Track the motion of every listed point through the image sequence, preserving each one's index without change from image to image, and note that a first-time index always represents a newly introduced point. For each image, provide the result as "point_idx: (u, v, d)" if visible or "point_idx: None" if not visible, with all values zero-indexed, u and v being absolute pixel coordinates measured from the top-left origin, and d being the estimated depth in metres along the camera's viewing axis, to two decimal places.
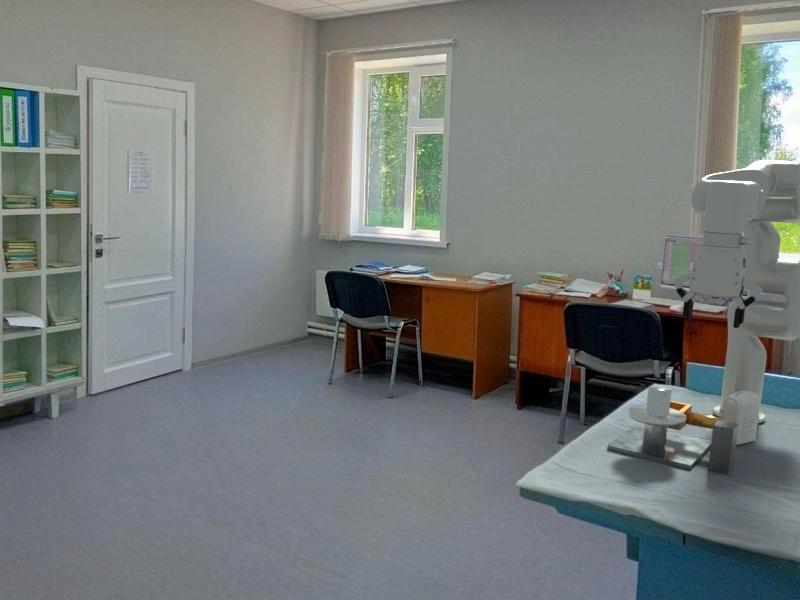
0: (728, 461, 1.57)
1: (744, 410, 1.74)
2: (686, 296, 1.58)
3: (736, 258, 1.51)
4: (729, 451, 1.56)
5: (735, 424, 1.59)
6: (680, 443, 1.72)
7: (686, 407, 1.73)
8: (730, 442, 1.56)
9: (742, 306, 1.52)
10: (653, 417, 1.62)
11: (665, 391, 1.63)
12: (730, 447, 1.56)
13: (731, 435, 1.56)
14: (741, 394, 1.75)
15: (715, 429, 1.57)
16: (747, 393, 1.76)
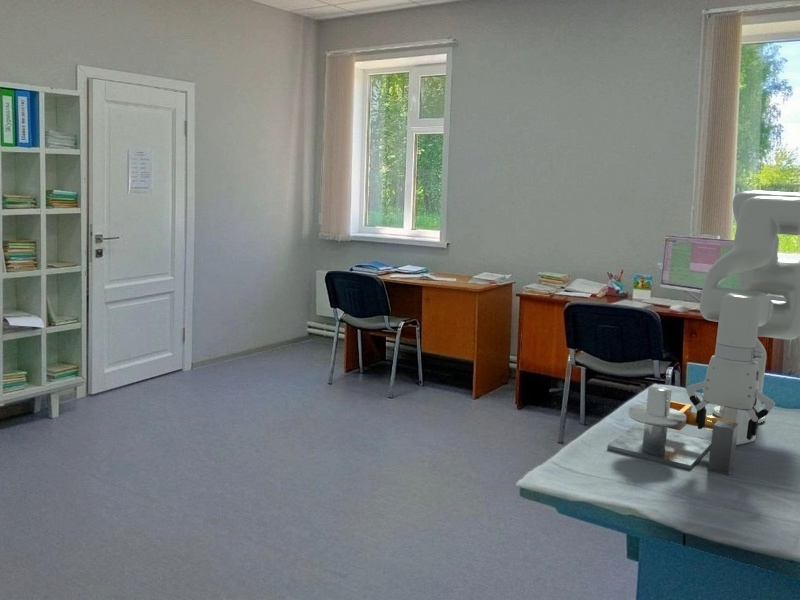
0: (728, 461, 1.57)
1: (744, 410, 1.74)
2: (699, 405, 1.59)
3: (749, 372, 1.52)
4: (729, 451, 1.56)
5: (735, 423, 1.59)
6: (680, 443, 1.72)
7: (686, 407, 1.73)
8: (730, 442, 1.56)
9: (755, 419, 1.53)
10: (653, 417, 1.62)
11: (665, 391, 1.63)
12: (730, 447, 1.56)
13: (731, 435, 1.56)
14: None
15: (715, 429, 1.57)
16: None
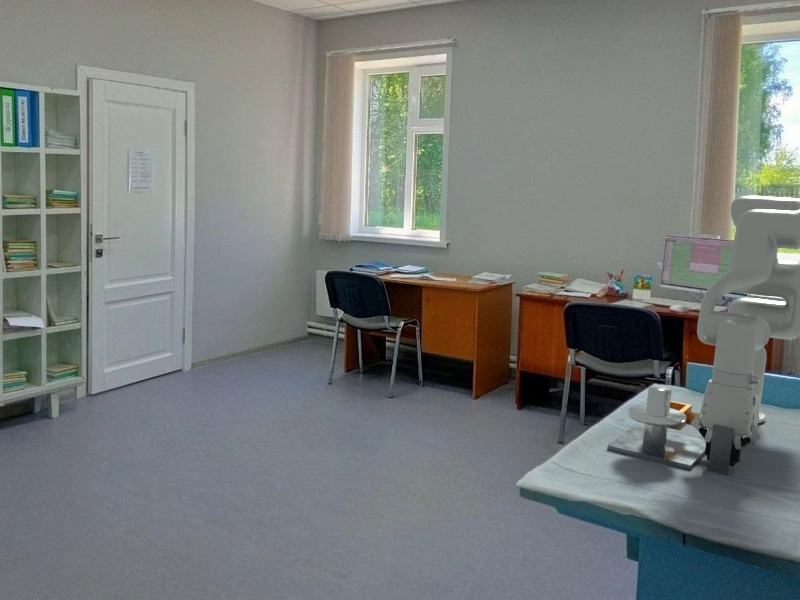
0: (728, 461, 1.56)
1: None
2: (708, 437, 1.59)
3: (746, 397, 1.54)
4: (729, 451, 1.56)
5: None
6: (680, 443, 1.72)
7: (686, 407, 1.73)
8: (730, 442, 1.56)
9: (738, 446, 1.56)
10: (653, 417, 1.62)
11: (665, 391, 1.63)
12: (730, 447, 1.56)
13: (731, 435, 1.56)
14: None
15: (715, 429, 1.57)
16: None
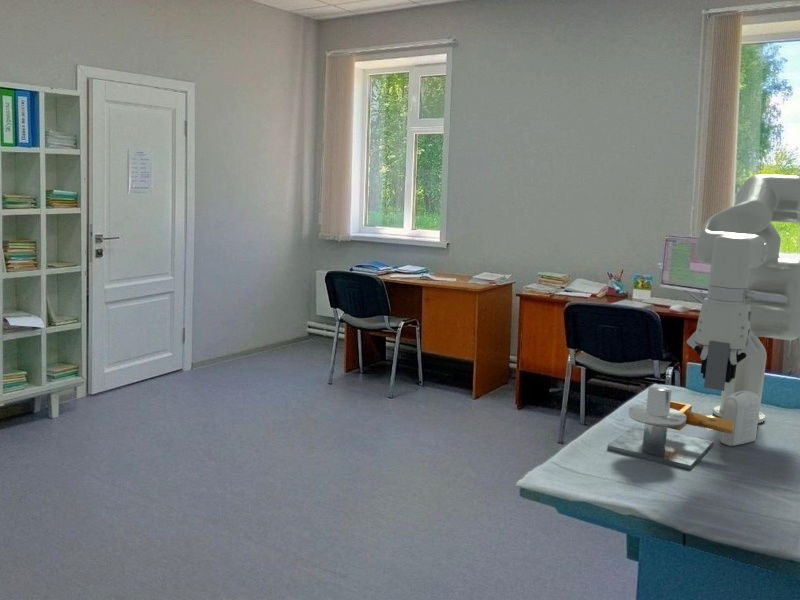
0: (724, 377, 1.57)
1: (744, 410, 1.74)
2: (704, 354, 1.60)
3: (742, 312, 1.54)
4: (725, 366, 1.57)
5: None
6: (680, 443, 1.72)
7: (686, 407, 1.73)
8: (726, 357, 1.57)
9: (734, 362, 1.57)
10: (653, 417, 1.62)
11: (665, 391, 1.63)
12: (726, 362, 1.57)
13: (727, 350, 1.56)
14: (741, 394, 1.75)
15: (711, 345, 1.58)
16: (747, 393, 1.76)
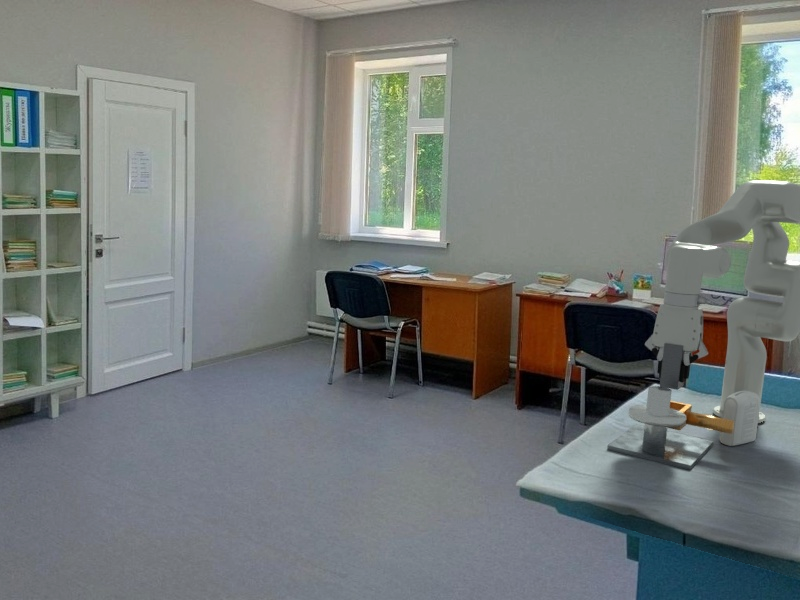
0: (677, 376, 1.69)
1: (744, 410, 1.74)
2: (660, 355, 1.72)
3: (694, 316, 1.66)
4: (678, 367, 1.69)
5: None
6: (680, 443, 1.72)
7: (686, 407, 1.73)
8: (679, 358, 1.69)
9: (687, 363, 1.69)
10: (653, 417, 1.62)
11: (665, 391, 1.63)
12: (679, 363, 1.69)
13: (680, 352, 1.68)
14: (741, 394, 1.75)
15: (666, 347, 1.70)
16: (747, 393, 1.76)
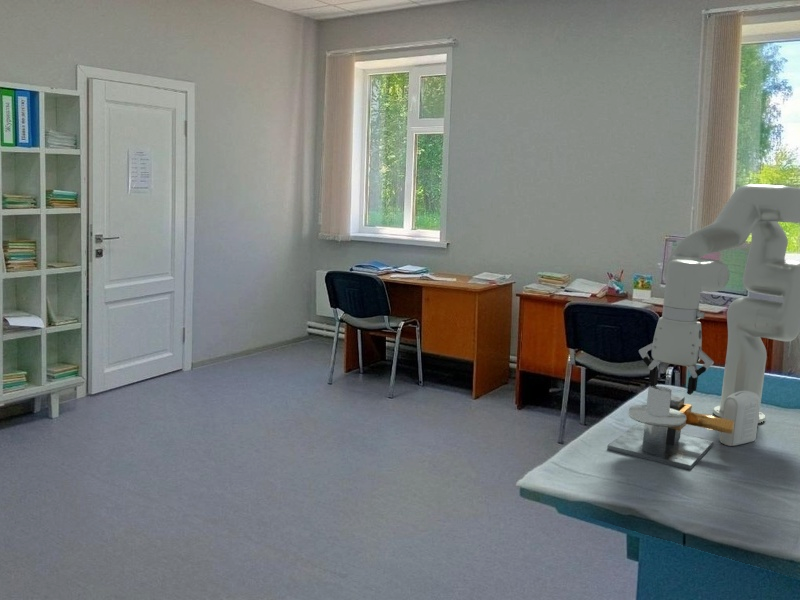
0: (674, 431, 1.71)
1: (744, 410, 1.74)
2: (651, 365, 1.74)
3: (692, 331, 1.67)
4: None
5: (682, 397, 1.74)
6: (680, 443, 1.72)
7: (686, 407, 1.73)
8: None
9: (695, 375, 1.69)
10: (653, 417, 1.62)
11: (665, 391, 1.63)
12: None
13: (677, 407, 1.71)
14: (741, 394, 1.75)
15: None
16: (747, 393, 1.76)
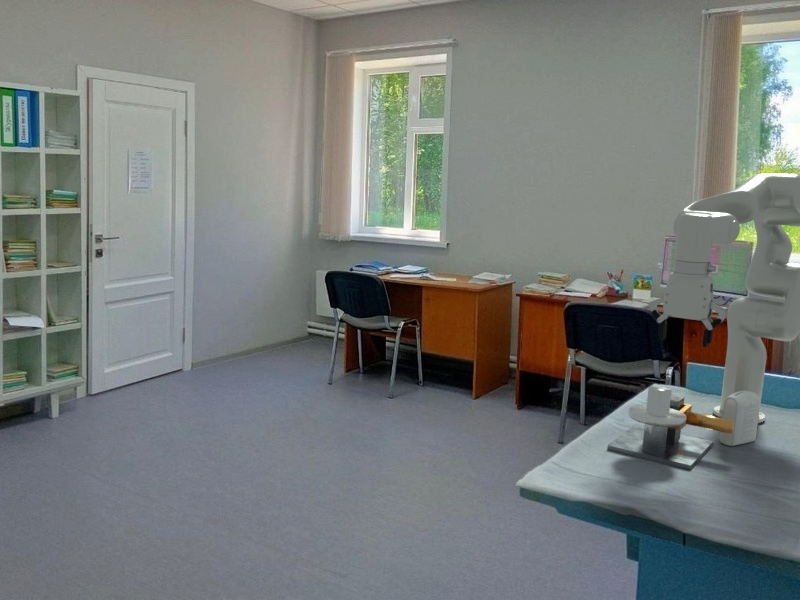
0: (674, 430, 1.71)
1: (744, 410, 1.74)
2: (660, 318, 1.74)
3: (704, 284, 1.66)
4: None
5: (681, 397, 1.74)
6: (680, 443, 1.72)
7: (686, 407, 1.73)
8: None
9: (710, 327, 1.68)
10: (653, 417, 1.62)
11: (665, 391, 1.63)
12: None
13: (676, 407, 1.71)
14: (741, 394, 1.75)
15: None
16: (747, 393, 1.76)
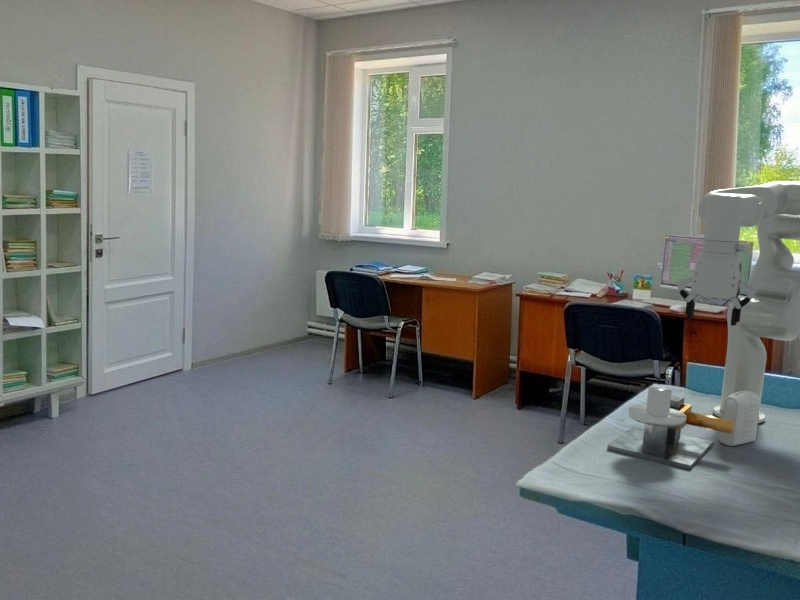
0: (674, 430, 1.71)
1: (744, 410, 1.74)
2: (688, 297, 1.76)
3: (733, 263, 1.69)
4: None
5: (681, 397, 1.74)
6: (680, 443, 1.72)
7: (686, 407, 1.73)
8: None
9: (738, 306, 1.70)
10: (653, 417, 1.62)
11: (665, 391, 1.63)
12: None
13: (676, 407, 1.71)
14: (741, 394, 1.75)
15: None
16: (747, 393, 1.76)
